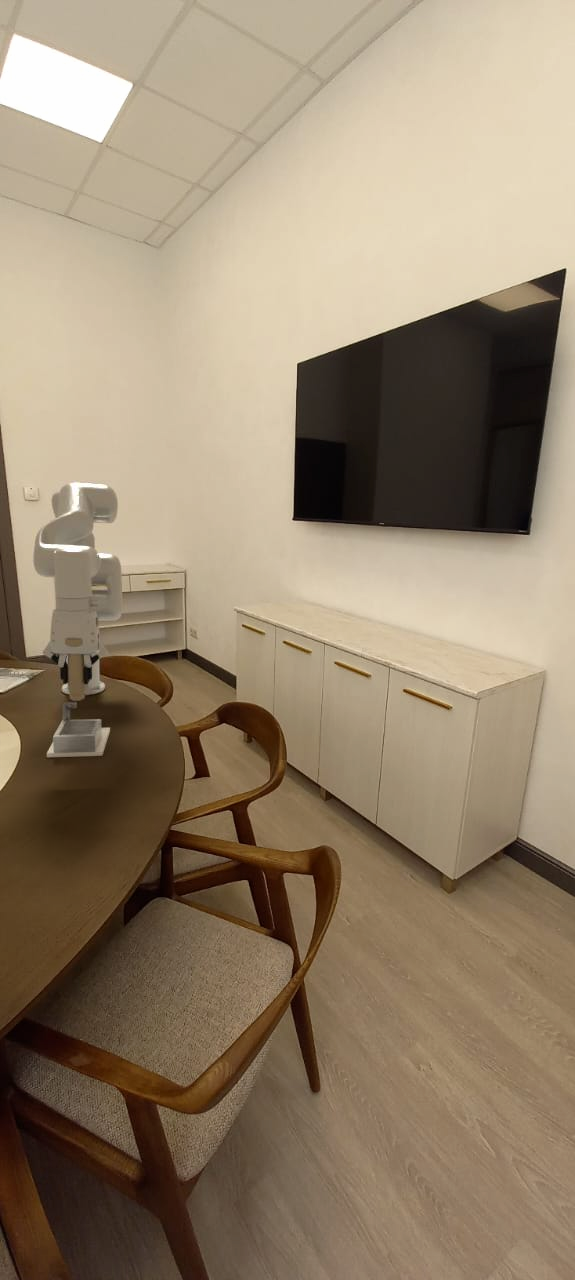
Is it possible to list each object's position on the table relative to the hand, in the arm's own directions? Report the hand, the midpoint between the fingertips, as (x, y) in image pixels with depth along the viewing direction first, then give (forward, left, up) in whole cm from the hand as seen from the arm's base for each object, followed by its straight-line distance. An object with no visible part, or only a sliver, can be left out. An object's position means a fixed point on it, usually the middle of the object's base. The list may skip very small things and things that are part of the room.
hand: (76, 681), depth 120 cm
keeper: (-2, 0, -16) cm, 17 cm away
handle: (0, 0, -4) cm, 4 cm away
